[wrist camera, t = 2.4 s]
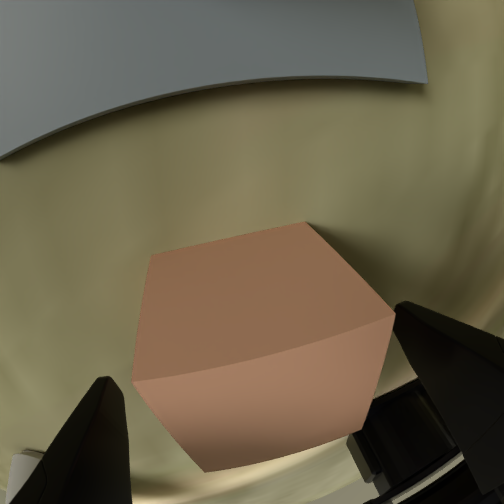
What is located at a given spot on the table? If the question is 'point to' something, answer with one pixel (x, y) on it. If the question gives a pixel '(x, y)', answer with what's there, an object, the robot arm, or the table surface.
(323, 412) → the terracotta block
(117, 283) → the table surface
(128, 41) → the grey square plate
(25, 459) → the can
